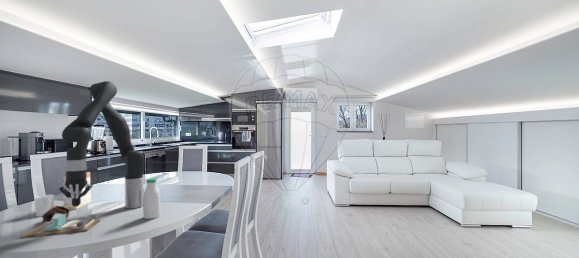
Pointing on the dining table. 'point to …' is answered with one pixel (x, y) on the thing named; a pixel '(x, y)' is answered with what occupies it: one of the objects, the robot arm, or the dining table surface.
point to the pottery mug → (51, 213)
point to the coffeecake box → (84, 199)
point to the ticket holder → (65, 227)
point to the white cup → (43, 204)
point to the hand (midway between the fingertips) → (76, 205)
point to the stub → (56, 223)
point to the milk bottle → (151, 200)
